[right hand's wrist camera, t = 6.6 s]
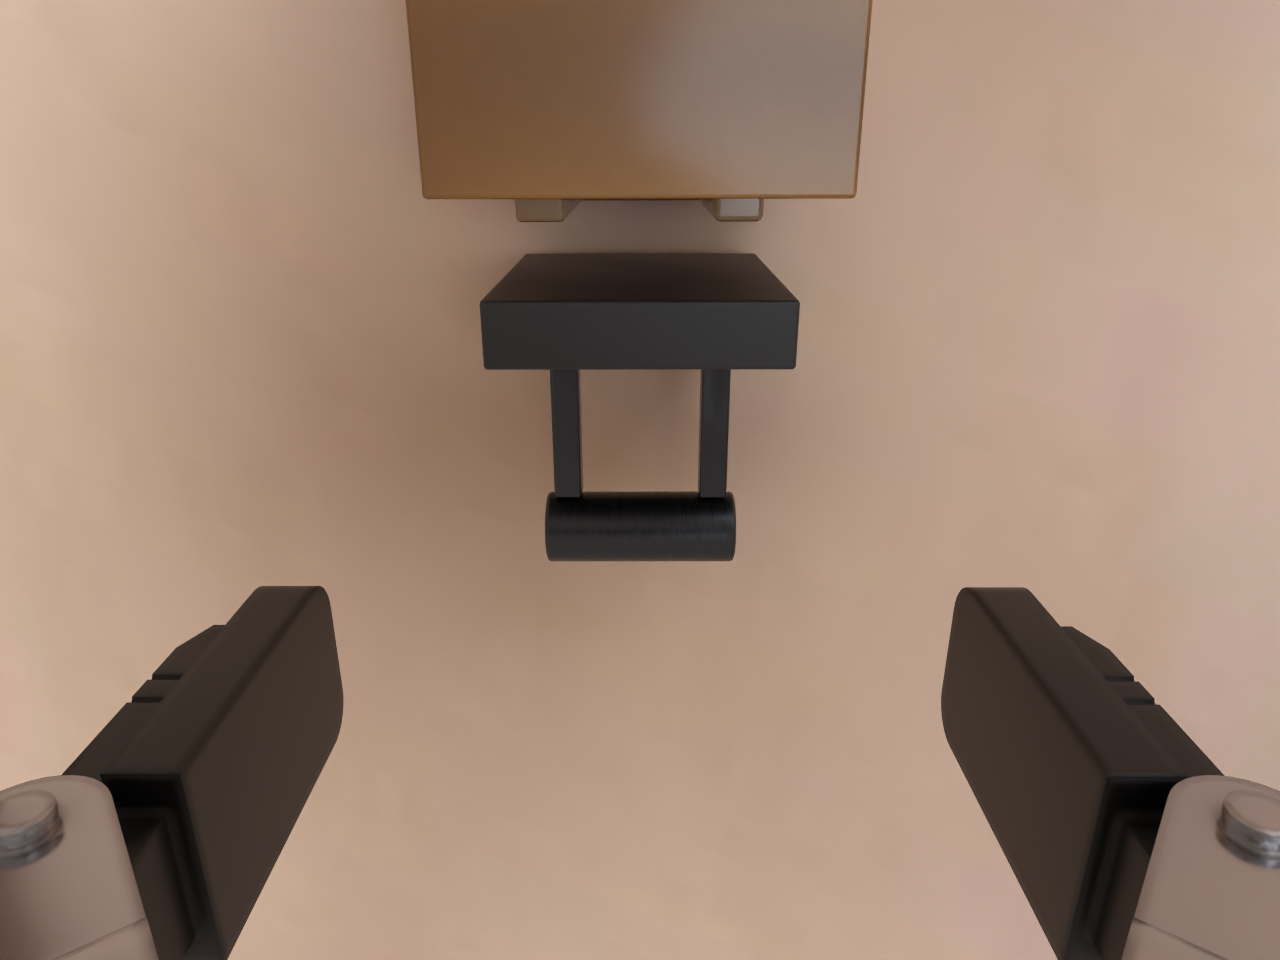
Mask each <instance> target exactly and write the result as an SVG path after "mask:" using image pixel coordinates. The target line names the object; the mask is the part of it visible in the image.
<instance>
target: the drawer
mask: <svg viewBox="0 0 1280 960" xmlns="http://www.w3.org/2000/svg"><path fill="white" fill-rule="evenodd" d="M581 200H700V201H701V203H702V204H703V205H704V206H705V207H706V208H707V210H708V211H709V212H710V213H711V214H712V215H713V217H714V218H715V219H716V220H718V221H759V220H761V218H762V216H763V200H764V199H515V202H516V218H517V220H518V221H520V222H561V221H563V220H564V219H565V218H566V217H567V216H568V215H569V214H570V212H571V211H572V210H573V209H574V208H575V207H576V206H577V205H578V204H579V203H580V202H581ZM799 307H800V303H799V301H798V300H797V299H796V298H795V296H794V295H793V294H792V293H791V292H790V291H789V290H788V289H787V288H786V287H785V286H784V285H783V284H782V283H781V282H780V280H779V279H778V278H777V277H776V276H775V275H774V274H773V273H772V272H771V271H770V270H769V269H768V268H767V267H766V265H765V264H764V263H763V262H762V261H761V260H760V259H759V258H758V257H757V256H756V255H755V254H526V255H525V256H524V257H523V258H522V259H521V260H520V261H519V262H518V263H517V264H516V265H515V266H514V268H513V269H512V270H511V271H510V272H509V273H508V274H507V275H506V276H505V277H504V278H503V279H502V280H501V281H500V282H499V283H498V284H497V285H496V286H495V287H494V288H493V289H492V290H491V291H490V292H489V293H488V294H487V295H486V297H485V298H484V299H483V300H482V301H481V302H480V315H481V330H482V345H483V360H484V367H485V369H487V370H529V369H550V384H551V409H552V434H553V459H554V484H555V492H550V493H549V494H548V497H547V502H546V512H545V543H546V553H547V557H548V559H549V560H550V561H731V560H733V557H734V554H735V544H736V512H735V501H734V497H733V494H732V493H731V492H726V485H727V457H728V430H729V402H730V375H731V369H794V368H795V366H796V354H797V339H798V323H799ZM580 369H701V375H700V417H699V459H698V492H583V462H582V425H581V388H580Z"/></svg>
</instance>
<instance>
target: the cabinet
mask: <svg viewBox="0 0 1280 960" xmlns="http://www.w3.org/2000/svg"><path fill="white" fill-rule="evenodd" d="M406 10H407V21H408V33H409V44H410V56H411V67H412V78H413V90H414V101H415V113H416V124H417V136H418V147H419V159H420V170H421V181H422V193H423V196H424V198H426V199H771V198H854V197H855V195H856V190H857V178H858V166H859V154H860V142H861V130H862V118H863V106H864V94H865V82H866V70H867V58H868V46H869V34H870V22H871V10H872V0H406Z"/></svg>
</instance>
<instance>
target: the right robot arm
mask: <svg viewBox="0 0 1280 960" xmlns="http://www.w3.org/2000/svg"><path fill="white" fill-rule="evenodd" d="M941 710H942V720H943V726H944V731H945V735H946V738H947V741H948V743H949V745H950V747H951V749H952V751H953V753H954V755H955V757H956V759H957V761H958V763H959V765H960V767H961V769H962V771H963V773H964V775H965V777H966V779H967V781H968V783H969V785H970V787H971V789H972V791H973V793H974V795H975V797H976V799H977V801H978V803H979V805H980V807H981V809H982V811H983V813H984V815H985V817H986V818H987V820H988V822H989V824H990V826H991V828H992V830H993V832H994V834H995V836H996V838H997V840H998V842H999V844H1000V846H1001V848H1002V850H1003V852H1004V854H1005V856H1006V858H1007V860H1008V862H1009V864H1010V866H1011V868H1012V870H1013V872H1014V874H1015V876H1016V878H1017V880H1018V882H1019V884H1020V886H1021V888H1022V890H1023V892H1024V894H1025V896H1026V897H1027V899H1028V901H1029V903H1030V905H1031V907H1032V909H1033V911H1034V913H1035V915H1036V917H1037V919H1038V921H1039V923H1040V925H1041V927H1042V929H1043V931H1044V933H1045V935H1046V937H1047V939H1048V941H1049V943H1050V945H1051V947H1052V949H1053V951H1054V953H1055V955H1056V957H1057V959H1058V960H1280V791H1278V790H1275V789H1272V788H1270V787H1267V786H1265V785H1262V784H1258V783H1255V782H1252V781H1249V780H1244V779H1240V778H1235V777H1228V776H1224V775H1223V774H1222V773H1221V771H1220V770H1219V769H1218V768H1217V767H1216V766H1215V765H1214V764H1213V763H1212V762H1211V761H1210V759H1209V758H1208V757H1207V756H1206V755H1205V754H1204V753H1203V752H1202V751H1201V750H1200V748H1199V747H1198V746H1197V745H1196V744H1195V743H1194V742H1193V741H1192V740H1191V739H1190V737H1189V736H1188V735H1187V734H1186V733H1185V732H1184V731H1183V730H1182V729H1181V728H1180V726H1179V725H1178V724H1177V723H1176V722H1175V721H1174V720H1173V719H1172V718H1171V717H1170V715H1169V714H1168V713H1167V712H1166V711H1165V710H1164V709H1163V708H1162V707H1161V706H1160V705H1155V703H1154V698H1153V697H1152V696H1151V695H1150V694H1149V692H1148V691H1147V690H1146V689H1145V688H1144V687H1143V686H1142V685H1141V684H1140V683H1139V682H1134V676H1133V675H1132V674H1131V673H1130V672H1129V670H1128V669H1127V668H1126V667H1125V666H1124V665H1123V664H1122V663H1121V662H1120V661H1119V660H1118V658H1117V657H1116V656H1115V655H1114V654H1113V653H1112V652H1111V651H1110V650H1109V649H1108V648H1106V647H1104V646H1103V645H1101V644H1099V643H1098V642H1096V641H1095V640H1093V639H1091V638H1090V637H1088V636H1086V635H1085V634H1083V633H1081V632H1080V631H1078V630H1076V629H1075V628H1073V627H1060V626H1059V624H1058V623H1057V622H1056V621H1055V620H1054V619H1053V617H1052V616H1051V615H1050V614H1049V613H1048V612H1047V610H1046V609H1045V608H1044V607H1043V606H1042V604H1041V603H1040V602H1039V601H1038V600H1037V599H1036V597H1035V596H1034V595H1033V594H1032V593H1031V592H1030V591H1029V590H1028V589H1026V588H963V589H962V590H961V591H960V592H959V594H958V596H957V598H956V602H955V607H954V613H953V620H952V626H951V633H950V640H949V647H948V653H947V660H946V667H945V674H944V680H943V687H942V696H941ZM342 715H343V689H342V682H341V675H340V668H339V661H338V654H337V647H336V640H335V634H334V627H333V620H332V613H331V606H330V601H329V598H328V595H327V593H326V591H325V589H324V588H323V587H321V586H260V587H258V588H257V589H256V590H255V591H254V592H253V593H252V594H251V595H250V596H249V598H248V599H247V600H246V601H245V602H244V604H243V605H242V606H241V607H240V608H239V609H238V611H237V612H236V613H235V614H234V615H233V617H232V618H231V619H230V620H229V621H228V622H227V624H226V625H213V626H211V627H210V628H208V629H206V630H205V631H203V632H202V633H200V634H198V635H197V636H195V637H193V638H192V639H190V640H188V641H187V642H185V643H183V644H182V645H180V646H179V647H177V648H176V649H175V650H174V651H173V652H172V653H171V654H170V655H169V657H168V658H167V659H166V660H165V661H164V662H163V663H162V664H161V665H160V667H159V668H158V669H157V670H156V671H155V672H154V673H153V674H152V680H147V681H146V682H145V683H144V684H143V685H142V686H141V688H140V689H139V690H138V691H137V692H136V693H135V694H134V695H133V696H132V702H131V703H126V704H125V705H124V706H123V708H122V709H121V710H120V711H119V712H118V713H117V714H116V715H115V716H114V717H113V719H112V720H111V721H110V722H109V723H108V724H107V725H106V726H105V727H104V729H103V730H102V731H101V732H100V733H99V734H98V735H97V736H96V737H95V739H94V740H93V741H92V742H91V743H90V744H89V745H88V746H87V747H86V748H85V750H84V751H83V752H82V753H81V754H80V755H79V756H78V757H77V758H76V760H75V761H74V762H73V763H72V764H71V765H70V766H69V767H68V768H67V770H66V771H65V772H64V773H63V774H62V775H60V776H52V777H45V778H40V779H36V780H31V781H28V782H25V783H22V784H18V785H15V786H13V787H10V788H8V789H5V790H2V791H0V960H227V959H228V957H229V955H230V953H231V951H232V949H233V947H234V945H235V943H236V941H237V939H238V937H239V935H240V933H241V931H242V929H243V927H244V925H245V923H246V921H247V919H248V917H249V915H250V913H251V911H252V909H253V907H254V905H255V903H256V901H257V899H258V897H259V895H260V893H261V891H262V889H263V887H264V885H265V883H266V881H267V879H268V877H269V875H270V873H271V871H272V869H273V867H274V865H275V863H276V861H277V859H278V857H279V855H280V853H281V851H282V849H283V847H284V845H285V843H286V841H287V839H288V837H289V835H290V833H291V831H292V829H293V827H294V825H295V823H296V821H297V819H298V817H299V815H300V813H301V811H302V809H303V807H304V805H305V803H306V801H307V799H308V797H309V795H310V793H311V791H312V789H313V787H314V785H315V783H316V781H317V779H318V777H319V775H320V773H321V771H322V769H323V767H324V765H325V763H326V761H327V759H328V757H329V755H330V753H331V751H332V749H333V747H334V745H335V743H336V741H337V738H338V735H339V731H340V727H341V722H342Z"/></svg>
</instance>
